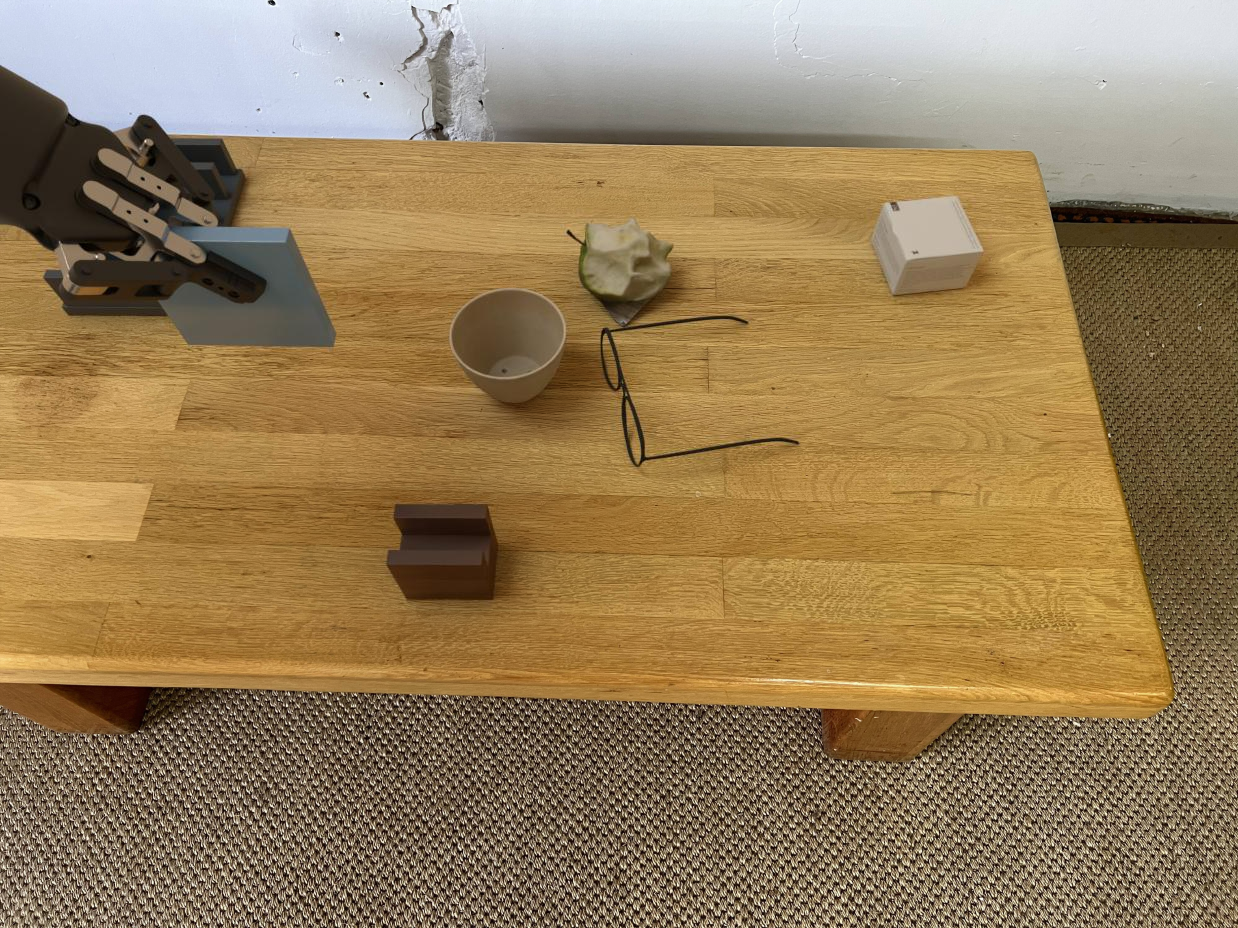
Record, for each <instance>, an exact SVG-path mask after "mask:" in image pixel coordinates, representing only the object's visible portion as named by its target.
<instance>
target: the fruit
mask: <svg viewBox="0 0 1238 928" xmlns="http://www.w3.org/2000/svg"><path fill="white" fill-rule="evenodd" d="M584 233H585V234H584V240H583V241H582V240H580V239H579V238H577V237H576V235H574V233H572V231H571V230H570V229H567V230H566V234H567V235H568V236H569V237H570V238H571V239H573V240H574V241H576V242H577V243H579V244H580V245H581V246H580V248H579V249H580V250H579V252H580V253H579V257H578V265H577V266H578V270H577V272H578V279H579V280H580V283H581V286H582V287H583V288H584V289H586V291H588V292H589V293H590V294H591V295H592V296H593V297H595V298H596V299H597V300H598V302H600V303H601V304H602V306H603V307H604V308H605V310H606V311H607V312H608V314H609V315H610V317H611V318H612V319H613V320H614V321H615V322H616V323H618V324H619V325H620V326H624V327H625V326H626V325H627V324H628V323H629V322H630V321H631V320H632V319H633V318H634V317H635V316H636V315H637V313H638V312H639V311H640V310H641V309H642V308H643V307H644V306H645V305H646V304H647V303H648V302H649V301H651V300H652V299H653V298H654V297H655V296H657V295H658V294H660V293H661V292H662V291H663V290H664V289H665V287H666V286H667V284H668V283H669V281H670V279H671V277H672V266H671V263H670V262H668V261H667V260H666V259H667V257H668V256H669V254H670V253H671V252H672V251H673V249H674V245H675V244H674V243H673V242H672V243H671V242H668V241H665V240H660V239H657V238H656V237H655V235H654V234H652V233H651V231H649V230H644V229H642V228H641V227H640V225H639V223H638V221H637V219H636V218H635V217H630V218H629V220H628V221H627V222H626V223H624V224H618V225H616V226H612V225H611V226H610V225H607V224H605V223H601V222H600V223H596V222H586V223H585V225H584Z"/></svg>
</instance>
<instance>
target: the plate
mask: <svg viewBox="0 0 1238 928" xmlns="http://www.w3.org/2000/svg"><path fill="white" fill-rule="evenodd" d="M169 229H170V230H171V231H172V232H173V233H175V234H177V235H179V236H181V237H183V238H184V239H186V240H188V241H190V242H192V243H194V244H196V245H198V246H199V247H201V248H202V249H203V250H204V251H205V253H206V255H207V254H208V253H209V252H210V251H212V252H214V253H216V254H218V255H220V256H222V257H224V258H226V259H228V260H230V261H232V262H234V263H236V264H238V265H239V266H241V267H243V268H245V269H247V270H249V271H251V272H253V273H255V274H257V275H259V276H261V277H263V278H264V279H265V280H266V281H267V285H266V288H265V292H264V293H263V294H262V295H261V296H260V297H259V298H258V299H257V300H256V301H255V302H254V303H246V302H245V303H244V304H239V303H234V302H232V301H230V300H228V299H226V298H224V297H222V296H220V295H219V294H216V293H214V292H212V291H210V290H208V289H206V288H204V287H202V286H199V285H197V284H195V283H191V282H187V283H184V284H182V285H181V286H180V287H179V288H178V289H177V290H176V291H175V292H174V293H173V295H172V296H171V297H170V298H169V299H167V300H158V302H159V303H160V305H161V306H162V308H163V309H164V310H165V312H166V313H167V315H168V316H167V317H168V318H169V319H170V321H171V322H172V324H173V325H174V326H175V328H176V329H177V331H178V332H179V334H180V335H181V337H182V338H183V340H184V342H185V343H186V344H187V345H188V346H213V347H214V346H215V347H216V346H217V347H218V346H219V347H220V346H221V347H222V346H224V347H283V348H285V347H288V348H289V347H292V348H293V347H294V348H334V347H335V342H336V339H337V332H336V329H335V327H334V325H333V322H332V321H331V318H330V316H329V313H328V311H327V309H326V307H325V304H324V302H323V300H322V297H321V295H320V293H319V291H318V288H317V286H316V284H315V282H314V279H313V277H312V275H311V272H310V271H309V268H308V266H307V264H306V261H305V259H304V257H303V255H302V252H301V250H300V248H299V245H298V243H297V241H296V239H295V237H294V234H293V232H292V230H291V228H290V227H263V226H262V227H261V226H260V227H258V226H257V227H256V226H230V227H193V226H169ZM143 238H144V237H143V236H142V235H140V236H139V237H138V239H137V240H136V241H141V240H142V239H143Z"/></svg>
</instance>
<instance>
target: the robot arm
mask: <svg viewBox="0 0 1238 928" xmlns="http://www.w3.org/2000/svg"><path fill="white" fill-rule="evenodd" d="M170 138H171V137H170V136H169V135H168V134H167V133H166V131H165V130H164V129H163V128H162V126H161V125H160V124H159V122H158V121H157V120H156V119H155V118H153V116H151V115H148V114H139V115H138V116H137V117H136V120H135V121H134V122H133V124H132V125H131V126H128V127H125V128H122V129H118V130H115V131H114V130H113V131H112V130H110V129H109V128H107V127H106V126H103V125H100V124H97V123H90V122H88V121H84V120H80V119H78V118H76V117H75V116H73V115H72V114H71V112H70V111H69V107H68V105H67V103H66V102H65V101H64V100H63V99H61V98H60V97H58V96H56V95H54V94H53V93H51V92H49V91H47V90H45V89H44V88H42V87H41V86H39V85H36V84H35V83H33V82H31V81H30V80H27V78H24V77H23V76H21V75H19V74H17V73H16V72H13V71H12V70H10V69H9V68H6V67H5V66H3V65H1V64H0V226H11V227H12V226H13V227H16V228H19V229H21V230H23V231H24V232H26V233H27V234H29V235H30V236H31V237H32V238H33V239H34V240H35V241H36V242H37V243H38V244H39V245H40V246H41V247H43V248H44V249H46V250H48V251H50V252H53V253H54V254H55V256H56V260H57V262H58V266H59V268H60V269H59V270H61V271H62V274H63V281H62V283H61V284H60V286H59V292H60V294H61V295H62V296H63V297H64V298H65V299H67V300H70V301H139V300H167V299H169V298H170V297H171V296H172V295H173V293H174V292H175V291H176V290H177V289H178V288H179V287H180V286H181V285H182V284H184V283H187V282H191V283H195V284H197V285H199V286H202V287H204V288H206V289H208V290H210V291H212V292H214V293H216V294H219V295H220V296H222V297H224V298H226V299H228V300H230V301H232V302H234V303H239V304H244V303H245V302H246V303H254V302H255V301H256V300H257V299H258V298H259V297H260V296H261V295H262V294H263V293H264V292H265V288H266V285H267V281H266V280H265V279H264V278H263V277H261V276H259V275H257V274H255V273H253V272H251V271H249V270H247V269H245V268H243V267H241V266H239V265H238V264H236V263H234V262H232V261H230V260H228V259H226V258H224V257H222V256H220V255H218V254H216V253H214V252H212V251H210V252H209V253H208V254H207V255H206V253H205V251H204V250H203V249H202V248H201V247H199V246H198V245H196V244H194V243H192V242H190V241H188V240H186V239H184V238H183V237H181V236H179V235H177V234H175V233H173V232H172V231H171V230H170V229H169V226H193V227H225V226H224V225H222V224H220V223H219V222H218V220H217V218H216V217H215V215H214V214H213V210H212V200H213V199H214V197H215V194H214V192H213V190H212V189H211V187H210V186H209V185H208V184H207V183H206V181H205V180H204V179H203V178H202V176H201V175H200V174H199V173H198V172H197V170H196V169H195V168H194V167H193V165H192V164H191V163H190V162H189V161H188V159H187V158H186V157H185V156H184V154H183V153H182V152H181V151H180V150H179V148H178V147H177V146H176V145H175V143H174V142H173V141H172V140H171V139H170ZM180 183H181V184H182V185H183V186H184V188H185V189H186V190H187V191H188V192H189V194H188V192H187V191H186V190H185V189H184V188H183V186H182V185H181V184H180ZM155 201H156V202H157V204H156V205H155V207H153V208H151V206H152V205H153V203H154V202H155ZM175 217H177V218H179V219H181V220H183V221H181V220H179V219H177V218H175ZM140 235H142V236H143V237H144V238H143V239H142V240H141V241H136V240H137V239H138V237H139V236H140ZM95 252H109V253H111V254H113V255H115V256H117V257H119V258H121V259H123V260H125V261H118V260H106V257H105V255H103V254H102V253H97V254H93V253H95Z"/></svg>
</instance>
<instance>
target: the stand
mask: <svg viewBox="0 0 1238 928" xmlns="http://www.w3.org/2000/svg"><path fill="white" fill-rule="evenodd" d="M393 509H394V510H393V517H392V518H393V520H394V522H395V524H396V526H397V528H398V531H399V532H400V535H401V538H400V545H399V549H388V550H387V555H386V563H385V565H386V567H387V569H388V570H389V572H390V574H391V575H392V577H393V579H394V580H395V582H396V584H397V586H398V587H399V589H400V591H401V592H402V594H403V596H404V598H405V599H406V600H449V601H450V600H451V601H453V600H454V601H455V600H456V601H457V600H459V601H460V600H462V601H463V600H464V601H465V600H467V601H468V600H469V601H470V600H473V601H476V600H477V601H482V600H483V601H493V600H494V598H495V586H496V585H495V584H496V575H497V574H496V573H497V563H498V562H497V560H498V550H499V549H498V548H499V542H498V539H497V534H496V531H495V529H494V528H495V527H494V525H493V520H492V516H491V514H490V510H489V506H488V504H468V503H467V504H463V503H462V504H459V503H457V504H456V503H449V504H445V503H441V504H439V503H395V504H394V508H393Z"/></svg>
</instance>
